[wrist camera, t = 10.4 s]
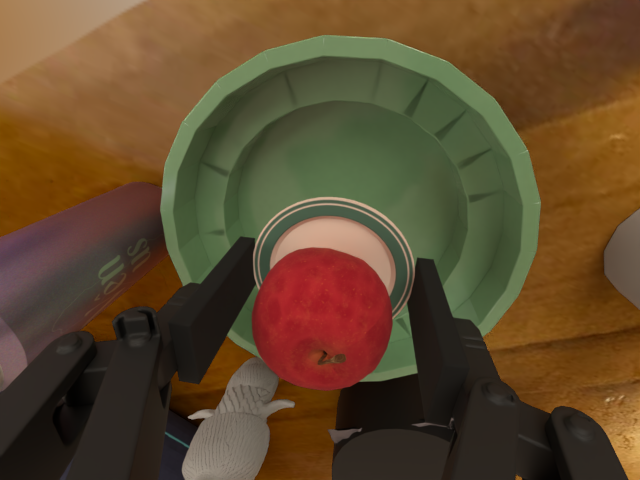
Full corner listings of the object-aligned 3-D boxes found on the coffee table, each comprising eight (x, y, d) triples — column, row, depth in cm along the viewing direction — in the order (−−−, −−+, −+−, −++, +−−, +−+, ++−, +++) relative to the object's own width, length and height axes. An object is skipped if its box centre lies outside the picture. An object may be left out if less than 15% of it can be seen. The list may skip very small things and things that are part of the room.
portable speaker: (36, 366, 37) (-69, 456, 28) (62, 318, 33) (-53, 406, 24) (217, 473, 42) (175, 580, 33) (260, 443, 37) (225, 556, 29)
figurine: (233, 374, 33) (138, 573, 20) (215, 345, 32) (99, 539, 18) (319, 360, 30) (278, 578, 17) (304, 327, 29) (246, 539, 16)
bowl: (546, 58, 18) (619, 50, 13) (455, 340, 27) (475, 403, 22) (192, 39, 20) (127, 24, 15) (219, 306, 29) (185, 357, 24)
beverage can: (115, 171, 25) (-182, 277, 12) (190, 189, 25) (-25, 318, 11) (122, 239, 28) (-112, 388, 14) (189, 256, 27) (15, 424, 14)
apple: (441, 224, 15) (487, 317, 9) (379, 347, 18) (383, 470, 13) (273, 171, 15) (209, 230, 9) (244, 304, 18) (187, 407, 13)
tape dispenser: (365, 472, 39) (367, 555, 32) (313, 372, 31) (302, 455, 24) (495, 461, 35) (527, 551, 29) (474, 345, 27) (511, 434, 21)
